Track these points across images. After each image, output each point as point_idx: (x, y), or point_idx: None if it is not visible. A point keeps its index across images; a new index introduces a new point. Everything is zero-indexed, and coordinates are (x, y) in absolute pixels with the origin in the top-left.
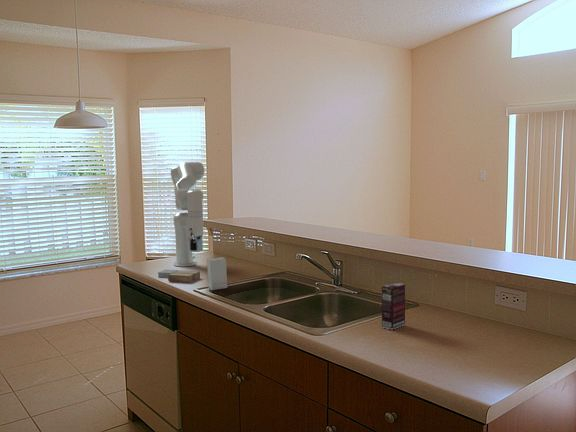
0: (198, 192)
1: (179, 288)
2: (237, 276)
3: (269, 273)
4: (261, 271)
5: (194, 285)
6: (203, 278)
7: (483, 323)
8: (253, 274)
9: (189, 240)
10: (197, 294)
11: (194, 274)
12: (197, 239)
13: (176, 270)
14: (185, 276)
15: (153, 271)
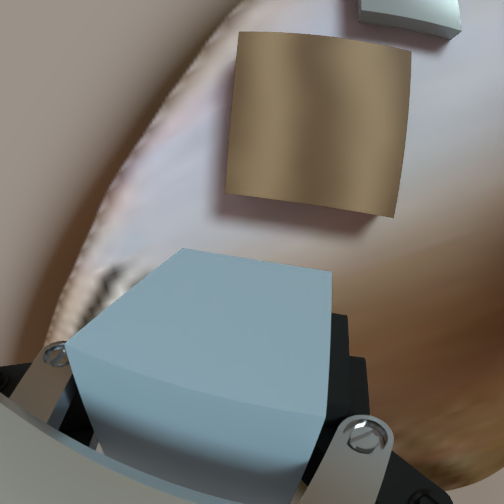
0: None
1: (121, 188)
2: (421, 388)
3: (451, 460)
4: (492, 431)
5: (192, 240)
6: (377, 233)
7: None
8: (448, 427)
9: (72, 342)
10: (75, 301)
11: (311, 203)
12: (196, 478)
13: (447, 20)
14: (227, 167)
15: None
